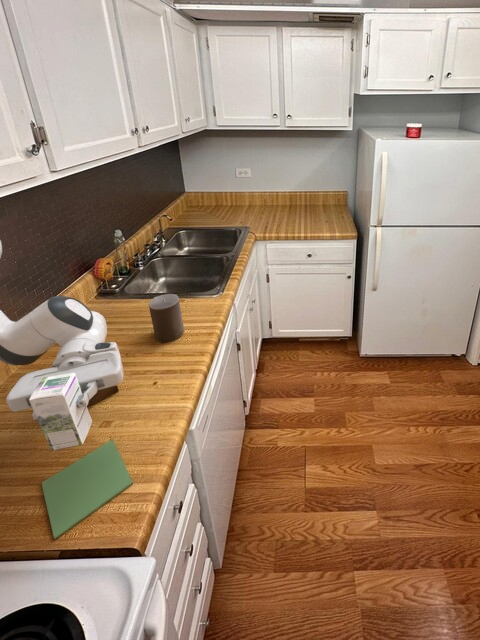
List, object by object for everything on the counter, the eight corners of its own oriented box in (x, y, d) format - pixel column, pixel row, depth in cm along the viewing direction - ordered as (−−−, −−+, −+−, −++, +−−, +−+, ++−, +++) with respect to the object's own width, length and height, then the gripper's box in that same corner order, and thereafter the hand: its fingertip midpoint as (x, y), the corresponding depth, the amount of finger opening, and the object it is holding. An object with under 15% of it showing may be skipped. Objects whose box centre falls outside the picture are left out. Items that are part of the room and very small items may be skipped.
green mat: (54, 540, 63) (53, 538, 63) (42, 484, 72) (41, 482, 72) (133, 483, 72) (132, 482, 72) (113, 440, 81) (112, 439, 81)
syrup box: (93, 421, 72) (75, 370, 67) (82, 446, 67) (62, 393, 62) (63, 426, 71) (43, 375, 66) (50, 453, 66) (27, 399, 60)
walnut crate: (61, 421, 86) (57, 410, 85) (51, 391, 95) (47, 380, 94) (118, 391, 95) (115, 380, 94) (104, 366, 104) (101, 356, 103)
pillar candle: (169, 345, 113) (162, 308, 108) (149, 338, 117) (141, 301, 111) (190, 329, 121) (184, 293, 116) (170, 322, 125) (163, 287, 119)
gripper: (17, 364, 72) (-13, 416, 60) (123, 340, 79) (115, 383, 68) (26, 385, 74) (-1, 440, 63) (128, 360, 82) (121, 405, 70)
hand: (60, 410), depth 65 cm, fingers closed on syrup box, 6 cm apart
